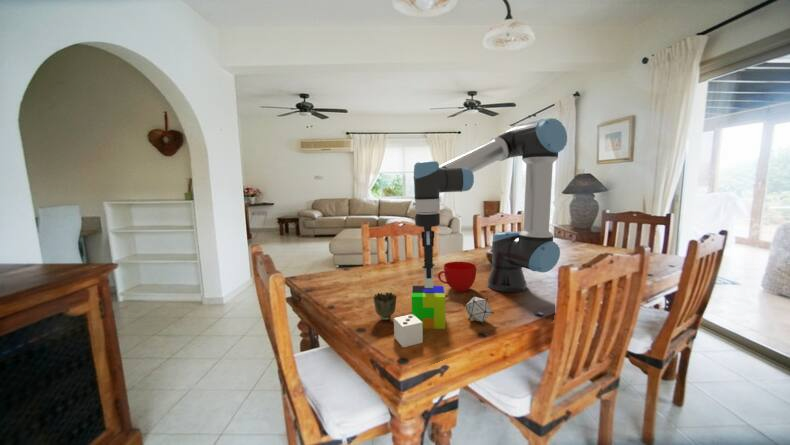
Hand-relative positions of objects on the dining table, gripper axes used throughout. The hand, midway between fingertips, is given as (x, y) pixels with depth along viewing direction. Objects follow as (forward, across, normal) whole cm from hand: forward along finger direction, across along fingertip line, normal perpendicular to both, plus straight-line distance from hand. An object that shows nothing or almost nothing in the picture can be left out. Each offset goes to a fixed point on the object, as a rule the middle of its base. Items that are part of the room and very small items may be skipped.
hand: (428, 287), depth 97 cm
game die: (+12, 0, +15) cm, 19 cm away
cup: (+11, 0, -14) cm, 18 cm away
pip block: (+11, +12, -6) cm, 18 cm away
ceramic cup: (+12, -29, +11) cm, 33 cm away
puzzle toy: (+12, 0, 0) cm, 12 cm away
